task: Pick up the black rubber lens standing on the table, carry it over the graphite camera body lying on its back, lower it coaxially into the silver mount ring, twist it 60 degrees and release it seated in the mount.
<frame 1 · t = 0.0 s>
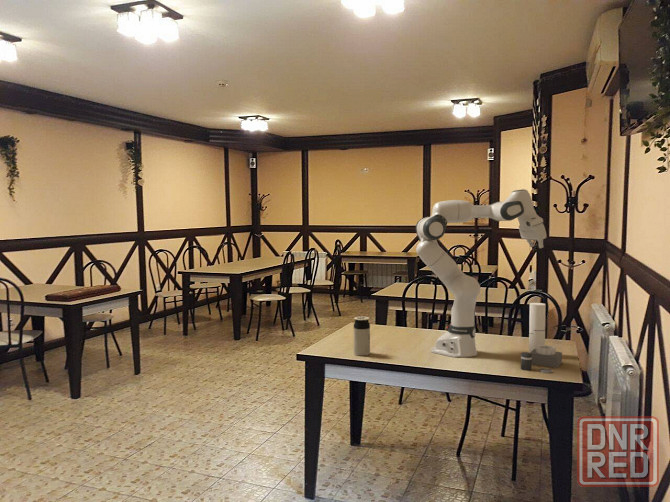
hand: (536, 247, 252), 52 cm above the table, tool tilted 20°, fingers open, 8 cm apart
travel mug: (361, 354, 253), on the table
camera body: (545, 363, 233), on the table
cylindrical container: (536, 355, 248), on the table
lens: (526, 369, 225), on the table
lens cap: (545, 372, 221), on the table
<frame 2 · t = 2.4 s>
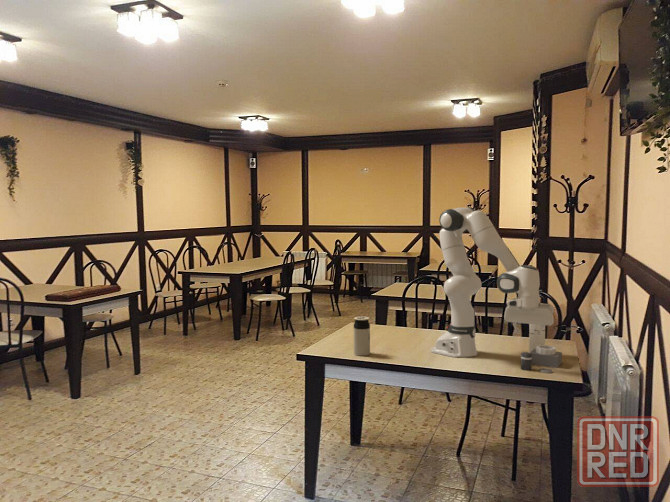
hand: (528, 333, 224), 16 cm above the table, tool pointing down, fingers open, 8 cm apart
nothing on the table moved.
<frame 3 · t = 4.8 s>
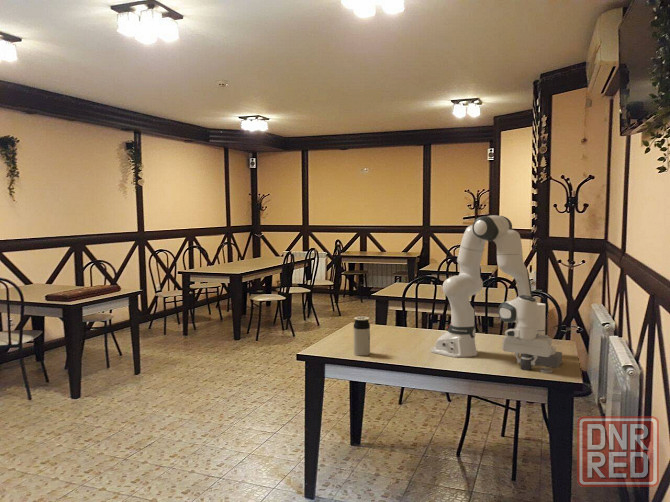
hand: (526, 363, 225), 2 cm above the table, tool pointing down, fingers closed on lens, 4 cm apart
lens: (526, 369, 225), on the table, touching gripper
everything else where it was.
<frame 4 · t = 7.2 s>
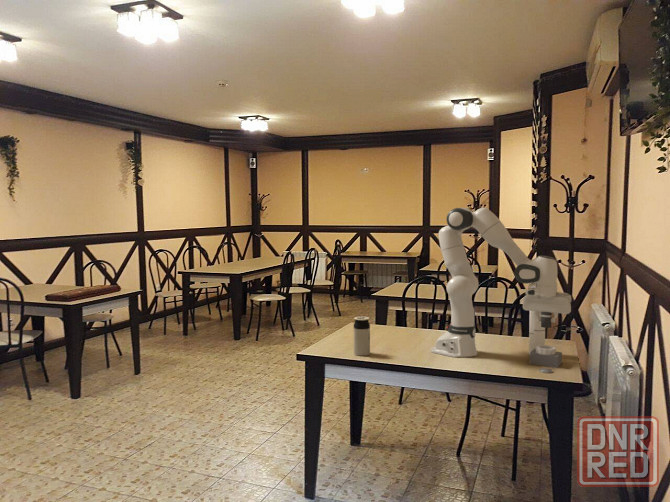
hand: (546, 321, 232), 19 cm above the table, tool pointing down, fingers closed on lens, 4 cm apart
lens: (546, 326, 232), point 17 cm above the table, touching gripper
everything else where it was.
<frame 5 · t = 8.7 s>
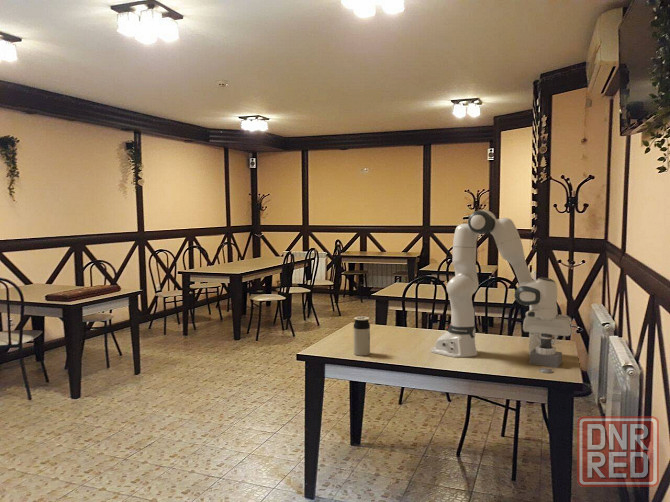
hand: (546, 343, 233), 9 cm above the table, tool pointing down, fingers closed on lens, 4 cm apart
lens: (546, 348, 233), point 7 cm above the table, touching gripper
everything else where it was.
when the fingers open (8 cm above the table, at t = 9.6 s): lens stays where it is, resting on camera body.
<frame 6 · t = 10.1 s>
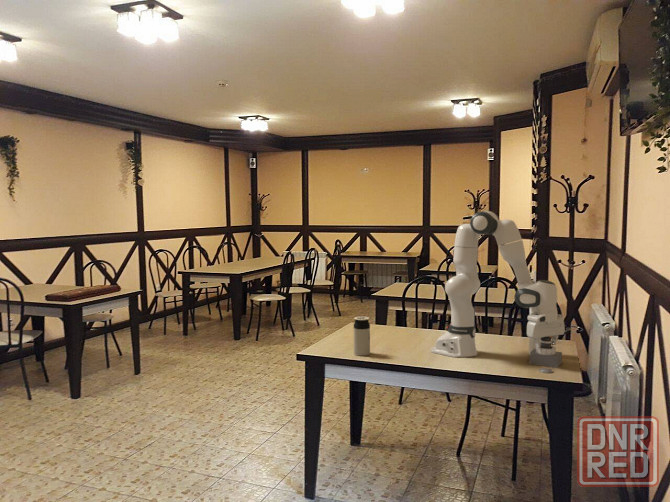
hand: (545, 345, 233), 8 cm above the table, tool pointing down, fingers open, 8 cm apart
lens: (545, 352, 233), point 5 cm above the table, touching camera body
everything else where it was.
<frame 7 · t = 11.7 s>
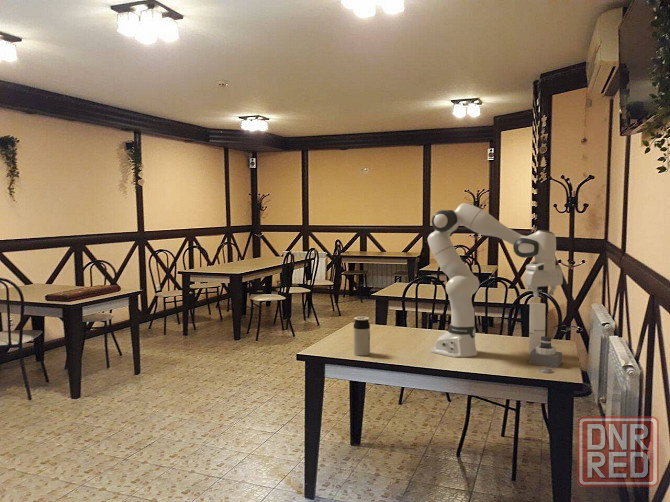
hand: (543, 295, 234), 31 cm above the table, tool pointing down, fingers open, 8 cm apart
nothing on the table moved.
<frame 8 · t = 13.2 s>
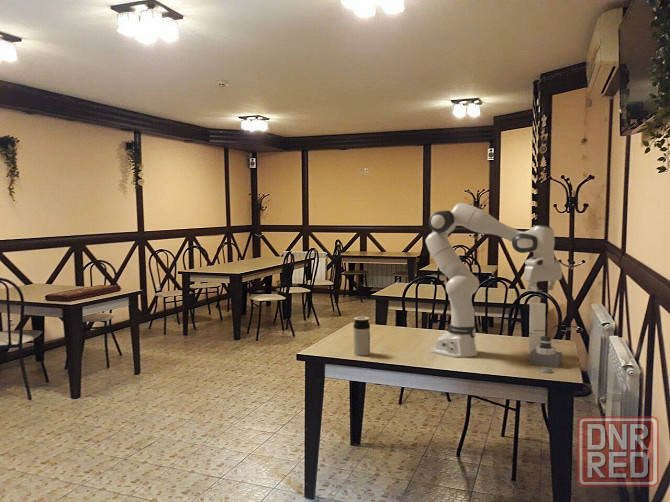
hand: (543, 290, 234), 33 cm above the table, tool pointing down, fingers open, 8 cm apart
nothing on the table moved.
at the end: lens 0.0 cm off-centre on the camera body, point 5.0 cm above the camera body's base; lens tilted 1°; the gripper is holding nothing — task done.
